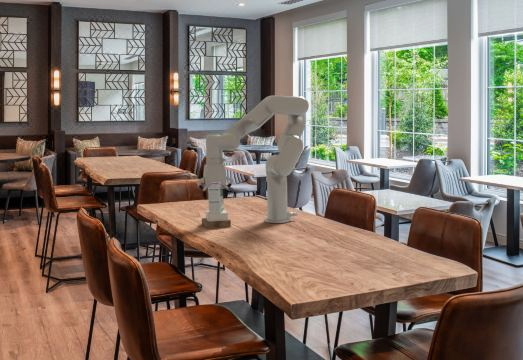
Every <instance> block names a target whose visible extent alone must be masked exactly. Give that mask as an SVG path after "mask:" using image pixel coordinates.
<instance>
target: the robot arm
mask: <svg viewBox="0 0 523 360" xmlns="http://www.w3.org/2000/svg"><path fill="white" fill-rule="evenodd" d="M309 107H310V105H309V101H308V99H306V98H305V97H303V96H295V95H294V96H291V95H288V96H287V95H286V96H285V95H276V94H275V95H269V96H266V97H265V98H264V99H262V100H261V101H260V102H259V103H258V104H257V105H255V107H253V108H252V109H251V110H250V111H249V112H248V113H246V115H244V116H243V117H241V118H240V119H238V121H236V122H235V123H234V124H233V125H231V126H230V127H229V128H228V129H227V130H226V131H225V132H224V133H222V135H221V134H217V133H216V134H207V135H206V136H205V154H206V155H205V158H206V161H205V162H206V163H205V164H204V166H203V173H202V174H203V177H202V178H200V179H198V180H196V182H195V183H196V184H197V187H198V188H199V189H200V190H202V198H203V200H205V201H206V200H207V199H208V196H207V195H208V194H207V193H208V187H209V186H211V185H212V182H213V181H220V182H221V186H223V199H227V198H228V196H229V189H230V188H231V186H232V184H233V182H234V179H232V178H230V177H229V176H227V173H226V168H225V167H226V166H225V164H224V162H226V161H227V160H226V159H227V158H224V155H223V150H224V151H235V150H238V148H240V145H241V139H242V138H244V137H245V136H246V135H247V134H250V133H252V132H254V131H255V132H256V131H257V130H258V129H260V128H261V127H262V126H263V125H264V124H265V123H266V122H268V121H269V120H270V119H271V118H272V117H273V116H274V115H284V116H285V115H287V122H286V125H285V127H284V129H283V132H282V133H281V135H280V137H279V140H278V141H277V150H278V151H279V153H278V154H273V155H270V156H269V157H268V158H267V159H266V162H265V174H266V189H267V190H266V193H267V194H266V195H267V196H266V197H267V198H266V199H267V200H266V201H267V203H266V206H267V207H266V209H267V214H266V215H267V217H264V218H263V220H264V222H265V223H270V224H285V223H289V222H291V220H292V219H291V217H297V216H298V213H297V211H296V212H295V211H293V212H290V211H288V178H287V177H288V176H290V174H291V173H292V172H293V171H294V168H295V166H297V165H296V164H297V163H298V161H299V159H300V157H301V155H302V152H303V151H304V143H303V140H302V135H303V133H304V130H305V127H306V122H307V121H306V115H305V114H306V113H307V112H308V110H309ZM227 181H228V183H227ZM202 184H203V185H202Z"/></svg>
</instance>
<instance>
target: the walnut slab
mask: <svg viewBox="0 0 523 360" xmlns="http://www.w3.org/2000/svg"><path fill="white" fill-rule="evenodd" d="M201 225H202V226H203V227H205V228H206V229H217V228H219V229H220V228H231V226H232V222H231V219H229V218H228V220H226V221H208V220H207V219H206V217H201Z"/></svg>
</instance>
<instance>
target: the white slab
mask: <svg viewBox="0 0 523 360" xmlns="http://www.w3.org/2000/svg"><path fill="white" fill-rule="evenodd" d="M205 218H206V219H207V220H208V221H226V220H228V219H229V213H228V212H227V210H226V209H224V211H222V212H221V213H209V210H205Z"/></svg>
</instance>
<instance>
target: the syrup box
mask: <svg viewBox="0 0 523 360" xmlns="http://www.w3.org/2000/svg"><path fill="white" fill-rule="evenodd" d="M207 193H208V194H207V195H208V196H207V199H208V211H209V213H221V212H222V211H224V210H225V209H224V208H225V207H224V187H223V186H221V182H220V181H213V182H212V185H211V186H209V187H207Z"/></svg>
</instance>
